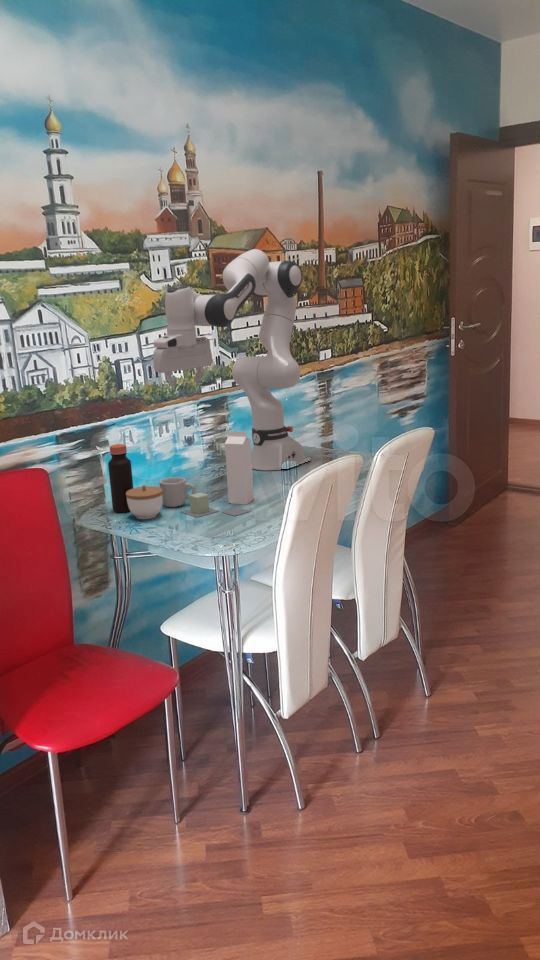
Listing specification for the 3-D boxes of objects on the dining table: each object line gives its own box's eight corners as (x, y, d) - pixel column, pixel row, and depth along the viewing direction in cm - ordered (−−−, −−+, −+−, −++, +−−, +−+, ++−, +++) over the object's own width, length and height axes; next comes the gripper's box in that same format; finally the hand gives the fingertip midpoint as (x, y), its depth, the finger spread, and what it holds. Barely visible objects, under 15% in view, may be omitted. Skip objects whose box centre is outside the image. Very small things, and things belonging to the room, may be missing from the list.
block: (201, 508, 250) (200, 492, 248) (209, 511, 247) (208, 494, 245) (190, 511, 247) (189, 495, 246) (198, 514, 244) (197, 497, 243)
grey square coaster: (237, 507, 249) (237, 507, 249) (250, 511, 245) (250, 511, 245) (221, 512, 245) (221, 511, 245) (234, 516, 241) (234, 515, 241)
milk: (236, 498, 259) (232, 429, 254) (254, 499, 257) (250, 429, 252) (228, 503, 254) (223, 433, 248) (246, 504, 252) (242, 433, 246)
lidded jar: (127, 523, 240) (124, 492, 237) (128, 512, 250) (125, 482, 248) (165, 519, 241) (162, 488, 239) (164, 509, 252) (161, 479, 249)
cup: (198, 501, 258) (196, 476, 256) (193, 508, 251) (191, 483, 249) (164, 501, 260) (162, 477, 258) (158, 509, 252) (156, 483, 250)
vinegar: (108, 512, 251) (101, 448, 246) (120, 506, 257) (113, 443, 252) (128, 513, 249) (122, 448, 244) (139, 507, 255) (133, 443, 250)
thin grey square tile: (202, 506, 252) (202, 505, 252) (218, 511, 247) (218, 510, 247) (181, 512, 248) (181, 511, 248) (196, 517, 242) (196, 517, 242)
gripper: (203, 335, 266) (206, 378, 269) (148, 342, 253) (152, 387, 256) (215, 336, 261) (218, 380, 264) (160, 343, 248) (164, 389, 252)
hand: (185, 383), depth 260 cm, fingers open, 8 cm apart
